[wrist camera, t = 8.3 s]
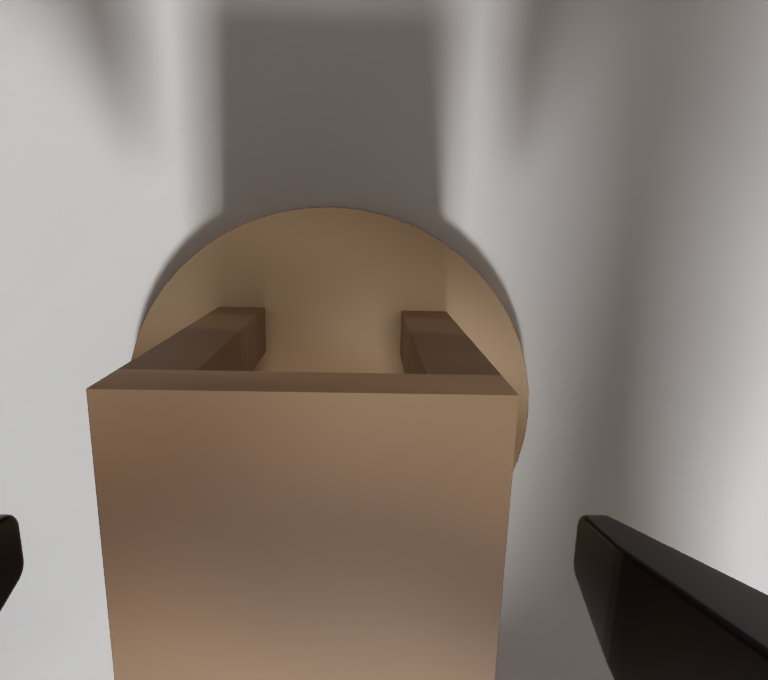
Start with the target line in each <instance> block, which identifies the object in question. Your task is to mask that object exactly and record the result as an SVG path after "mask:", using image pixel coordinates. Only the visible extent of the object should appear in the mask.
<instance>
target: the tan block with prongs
mask: <svg viewBox="0 0 768 680" xmlns="http://www.w3.org/2000/svg"><path fill="white" fill-rule="evenodd" d="M265 353H266V329H265V308H260V307H218V308H216V309H214V310H213V311H211V312H210V313H208V314H206V315H205V316H203V317H201V318H200V319H198V320H197V321H195V322H193V323H192V324H190V325H189V326H187V327H185V328H184V329H182V330H180V331H179V332H177V333H176V334H174V335H172V336H171V337H169V338H168V339H166V340H164V341H163V342H161V343H160V344H158V345H156V346H155V347H153V348H151V349H150V350H148V351H147V352H145V353H143V354H142V355H140V356H139V357H137V358H135V359H134V360H132V361H131V362H129V363H127V364H126V365H124V366H122V367H121V368H119V369H118V370H116V371H114V372H113V373H111V374H110V375H108V376H106V377H105V378H103V379H101V380H100V381H98V382H97V383H95V384H93V385H92V386H90V387H89V388H87V389H86V392H87V403H88V413H89V423H90V433H91V444H92V454H93V464H94V474H95V485H96V495H97V505H98V515H99V526H100V536H101V546H102V556H103V567H104V577H105V587H106V597H107V608H108V618H109V628H110V638H111V649H112V659H113V669H114V679H115V680H495V670H496V659H497V647H498V635H499V624H500V612H501V600H502V589H503V577H504V565H505V554H506V542H507V530H508V519H509V507H510V496H511V484H512V472H513V461H514V449H515V437H516V426H517V414H518V402H519V395H518V394H517V392H516V391H515V390H514V389H513V388H512V387H511V385H510V384H509V383H508V382H507V381H506V380H505V379H504V377H503V376H502V375H501V374H500V373H499V372H498V370H497V369H496V368H495V367H494V366H493V365H492V364H491V362H490V361H489V360H488V359H487V358H486V357H485V355H484V354H483V353H482V352H481V351H480V350H479V349H478V347H477V346H476V345H475V344H474V343H473V342H472V340H471V339H470V338H469V337H468V336H467V335H466V334H465V332H464V331H463V330H462V329H461V328H460V327H459V325H458V324H457V323H456V322H455V321H454V320H453V319H452V317H451V316H450V315H449V314H448V313H447V312H446V311H403V310H401V338H400V356H401V360H402V364H403V368H404V372H405V374H391V373H329V372H268V371H252V370H253V369H254V368H255V366H256V365H257V364H258V362H259V361H260V359H261V358H262V357H263V355H264V354H265Z"/></svg>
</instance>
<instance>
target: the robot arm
mask: <svg viewBox="0 0 768 680" xmlns="http://www.w3.org/2000/svg"><path fill="white" fill-rule="evenodd" d="M23 564H24V559H23V552H22V545H21V538H20V531H19V525H18V521H17V519H16V518H15V517H13V516H12V515H0V611H1V609H2V608H3V606H4V604H5V603H6V601H7V599H8V597H9V596H10V594H11V592H12V591H13V589H14V587H15V586H16V584H17V582H18V581H19V579H20V576H21V574H22V571H23ZM574 571H575V575H576V578H577V581H578V584H579V587H580V590H581V592H582V595H583V598H584V601H585V604H586V607H587V609H588V612H589V615H590V618H591V621H592V623H593V626H594V629H595V632H596V635H597V638H598V640H599V643H600V646H601V649H602V651H603V654H604V657H605V659H606V662H607V664H608V667H609V669H610V671H611V673H612V676H613V678H614V680H768V595H766V594H764V593H762V592H760V591H758V590H756V589H754V588H752V587H750V586H748V585H746V584H744V583H742V582H740V581H738V580H736V579H734V578H732V577H730V576H728V575H726V574H724V573H722V572H720V571H718V570H716V569H714V568H712V567H710V566H708V565H706V564H704V563H702V562H700V561H698V560H696V559H694V558H692V557H689V556H687V555H685V554H683V553H681V552H679V551H677V550H675V549H673V548H671V547H669V546H667V545H665V544H663V543H661V542H659V541H657V540H655V539H653V538H651V537H649V536H647V535H645V534H643V533H641V532H639V531H637V530H635V529H633V528H631V527H629V526H627V525H625V524H623V523H621V522H619V521H617V520H615V519H613V518H611V517H609V516H606V515H584V516H582V517H581V518H580V519H579V522H578V526H577V535H576V544H575V553H574Z"/></svg>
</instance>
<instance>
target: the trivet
mask: <svg viewBox="0 0 768 680" xmlns="http://www.w3.org/2000/svg"><path fill="white" fill-rule="evenodd" d="M218 307H260V308H265V329H266V353H265V354H264V355H263V357H262V358H261V359H260V361H259V362H258V364H257V365H256V366H255V368H254V369H253V370H252V371H268V372H329V373H391V374H405V372H404V368H403V364H402V360H401V356H400V338H401V310H403V311H446V312H447V313H448V314H449V315H450V316H451V317H452V319H453V320H454V321H455V322H456V323H457V324H458V325H459V327H460V328H461V329H462V330H463V331H464V332H465V334H466V335H467V336H468V337H469V338H470V339H471V340H472V342H473V343H474V344H475V345H476V346H477V347H478V349H479V350H480V351H481V352H482V353H483V354H484V355H485V357H486V358H487V359H488V360H489V361H490V362H491V364H492V365H493V366H494V367H495V368H496V369H497V370H498V372H499V373H500V374H501V375H502V376H503V377H504V379H505V380H506V381H507V382H508V383H509V384H510V385H511V387H512V388H513V389H514V390H515V391H516V392H517V394H518V395H519V402H518V414H517V426H516V437H515V449H514V461H513V470H514V467H515V465H516V463H517V461H518V457H519V454H520V451H521V447H522V444H523V440H524V436H525V430H526V424H527V417H528V381H527V373H526V365H525V361H524V357H523V353H522V349H521V346H520V342H519V339H518V336H517V334H516V332H515V329H514V327H513V325H512V322H511V320H510V317H509V315H508V314H507V312H506V310H505V309H504V307H503V305H502V304H501V302H500V300H499V299H498V297H497V295H496V294H495V292H494V291H493V290H492V289H491V287H490V286H489V285H488V284H487V282H486V281H485V280H484V279H483V277H482V276H481V275H480V273H478V272H477V271H476V270H475V269H474V268H473V267H472V266H471V265H470V264H469V263H468V262H467V261H466V260H465V259H464V258H463V257H462V256H461V255H460V254H458V253H457V252H455V251H454V250H453V249H451V248H450V247H449V246H447V245H446V244H444V243H443V242H442V241H440V240H439V239H437V238H435V237H434V236H432V235H430V234H428V233H426V232H424V231H422V230H421V229H419V228H417V227H415V226H413V225H410V224H408V223H405V222H402V221H400V220H397V219H394V218H392V217H389V216H386V215H381V214H377V213H372V212H368V211H364V210H359V209H348V208H337V207H320V208H302V209H296V210H291V211H285V212H279V213H274V214H271V215H268V216H265V217H262V218H259V219H256V220H253V221H250V222H247V223H245V224H243V225H241V226H239V227H237V228H235V229H233V230H231V231H229V232H227V233H225V234H223V235H221V236H220V237H218V238H217V239H215V240H214V241H212V242H211V243H209V244H208V245H206V246H205V247H203V248H202V249H200V250H199V251H198V252H197V253H196V254H195V255H194V256H193V257H191V258H190V259H189V260H188V261H187V262H186V263H185V264H184V265H182V266H181V267H180V268H179V270H178V271H177V272H176V273H175V274H174V275H173V277H172V278H171V279H170V280H169V281H168V283H167V284H166V285H165V286H164V287H163V289H162V290H161V292H160V293H159V295H158V297H157V298H156V300H155V302H154V303H153V305H152V306H151V308H150V310H149V311H148V314H147V316H146V318H145V320H144V323H143V325H142V327H141V330H140V332H139V334H138V338H137V341H136V345H135V348H134V352H133V356H132V359H131V361H132V360H134V359H135V358H137V357H139V356H140V355H142V354H143V353H145V352H147V351H148V350H150V349H151V348H153V347H155V346H156V345H158V344H160V343H161V342H163V341H164V340H166V339H168V338H169V337H171V336H172V335H174V334H176V333H177V332H179V331H180V330H182V329H184V328H185V327H187V326H189V325H190V324H192V323H193V322H195V321H197V320H198V319H200V318H201V317H203V316H205V315H206V314H208V313H210V312H211V311H213V310H214V309H216V308H218Z"/></svg>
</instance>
